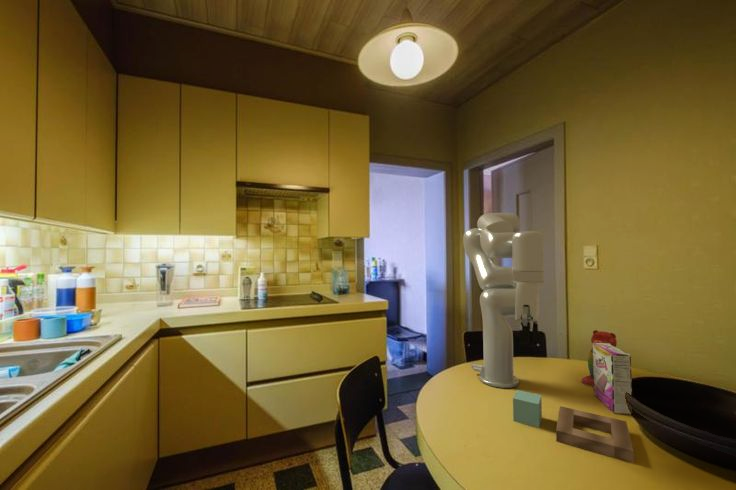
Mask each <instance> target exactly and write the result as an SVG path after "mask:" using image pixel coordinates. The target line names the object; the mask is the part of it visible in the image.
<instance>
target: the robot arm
mask: <svg viewBox="0 0 736 490" xmlns="http://www.w3.org/2000/svg"><path fill="white" fill-rule="evenodd" d="M476 226H477V227H474V228H470V229H467V230H466V231H465V232H464V234H463V237H462V244H463V249H464V251H465V255H466V257H467V258H468V259H469V262H470V263H471V264H472V266H473V269H474V273H475V277H476V280H477V282H478V285H479V287H480V289H481V290H482V292H481V294H480V296H479V305H480V311H481V318H482V341H483V343H482V344H483V346H482V347H483V349H482V350H483V353H482V354H483V364H482V363H481V364H478V363H471V369H473V371H474V372H479V374H478V379H479V380H480V382H482V384H483V383H484V384H485V385H488V386H489V387H490V386H491V387H495V388H502V389H511V388H515V387H517V386H518V385H519V382H520V381H519V378H518V377H517V376H516V375H515V374H514V336H513V335H514V332H513V328H512V326H511V325H510V323H509V322H508V321H507V320H506V319H505V318H509V317H513V318H514V319H515V320H516V321H517V322H518V321H520V324H519V328H520V329H519V345H520V346H521V347H528V348H534V347H535V339H538V337H539V326H538V325H539V324H538V319H539V315H540V285H541V284H542V285H544V284H545V264H544V262H545V261H544V260H545V259H544V256H545V255H544V253H545V252H544V251H545V250H544V235H543V234H542V232H540V231H538V230H537V231H536V230H533V231H532V230H528V231H526V230H525V231H520V229H521V220H520V218H519V216H518V215H517V214H516V213H513V212H488V213H484V214H482V215H480V217H479V218H478V219H477V222H476ZM496 259H512V263H511V264H512V266H501V265H500V266H499V265H498V263H497V261H496Z"/></svg>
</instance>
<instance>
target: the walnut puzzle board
mask: <svg viewBox="0 0 736 490" xmlns="http://www.w3.org/2000/svg"><path fill="white" fill-rule="evenodd" d="M557 415H558V417H557V423H556V429H555V432H556V433H555V434H556V442H558V443H562V444H565V445H568V446H569V445H570V446H572V447H577V448H579V449H583V450H587V451H590V452H593V453H597V454H599V455H600V454H601V455H603V456H604V455H605V456H608V457H611V458H614V459H617V460H622V461H626V462H629V463H632V464H634V463H635V459H634V458H635V456H634V455H635V454H634V453H635V452H634V448H633V444H632V443H633V442H632V440H631V436H630V431H629V426H628V423H627V421H626V420H622V419H617V418H614V417H609V416H604V415H600V414H595V413H593V412H588V411H583V410H579V409H575V408H570V407H565V406H562V405H559V411H558V414H557ZM575 425H576V426H580V427H582V428H583V427H584V428H587V429H592V430H595V431H600V432H603V433H605V434H606V433H607V434H610V436H611V437H608V436H605V435H600V434H596V433H593V432H590V431H586V430H585V431H584V430H581V429H578V428H574V427H575Z"/></svg>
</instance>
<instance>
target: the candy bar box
mask: <svg viewBox="0 0 736 490" xmlns="http://www.w3.org/2000/svg"><path fill="white" fill-rule="evenodd" d="M591 344H592V348H593V374H594V386H593V396H595V398H596V399H598V401H600V402H601V403H602V404H603V405H604V406H605V407H606V408H608V409H609V410H610V411H611V412H612V413H613V414H616V415H617V414H618V415H621V414H622V415H629V416H630V415H631V414H630V411H629V409H628V406H627V404H626V399H625V393H626V392H627V393H629V394H630V395H632V396H633V387H632V386H633V382H632V379H633V378H632V354H630V353H627V352H625V351H624V350H621V349H620V348H618V347H617V346H616V347H615V346H613V345H611V344H609V343H592V342H591Z"/></svg>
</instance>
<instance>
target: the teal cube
mask: <svg viewBox="0 0 736 490" xmlns="http://www.w3.org/2000/svg"><path fill="white" fill-rule="evenodd" d="M542 404H543V403H542V395H541V394H538V393H532V392H528V391H522V390H520V389H516V391H515V394H514V395H513V397H512V416H513V419H512V420H513V422H517V423H520V424H523V425H527V426H530V427H534V428H538V429H540V426H541V422H542V418H543V416H542V414H543V411H542V409H543V408H542Z"/></svg>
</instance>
